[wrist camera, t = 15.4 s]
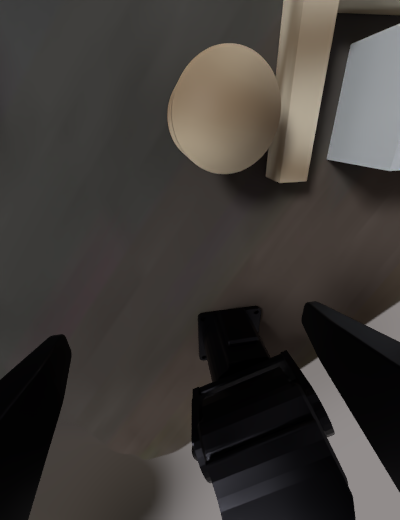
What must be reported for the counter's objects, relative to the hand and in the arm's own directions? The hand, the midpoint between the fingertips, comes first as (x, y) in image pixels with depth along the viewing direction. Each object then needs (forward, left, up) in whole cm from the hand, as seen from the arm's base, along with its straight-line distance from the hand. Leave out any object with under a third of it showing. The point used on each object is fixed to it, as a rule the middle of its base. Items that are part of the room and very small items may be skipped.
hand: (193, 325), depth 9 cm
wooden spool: (+7, -3, -12) cm, 14 cm away
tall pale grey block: (+7, -15, -12) cm, 20 cm away
